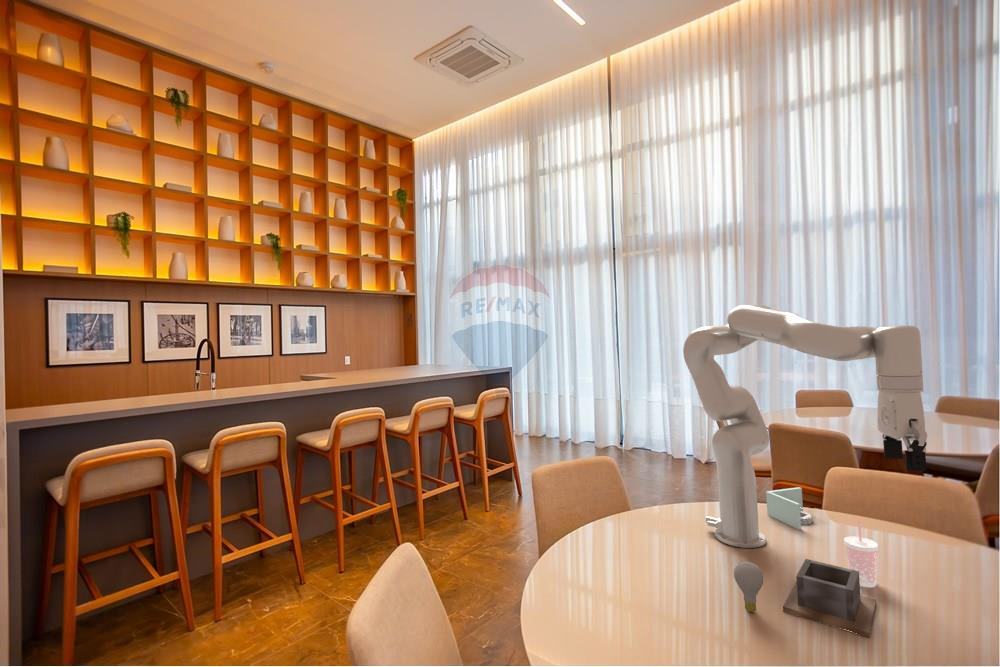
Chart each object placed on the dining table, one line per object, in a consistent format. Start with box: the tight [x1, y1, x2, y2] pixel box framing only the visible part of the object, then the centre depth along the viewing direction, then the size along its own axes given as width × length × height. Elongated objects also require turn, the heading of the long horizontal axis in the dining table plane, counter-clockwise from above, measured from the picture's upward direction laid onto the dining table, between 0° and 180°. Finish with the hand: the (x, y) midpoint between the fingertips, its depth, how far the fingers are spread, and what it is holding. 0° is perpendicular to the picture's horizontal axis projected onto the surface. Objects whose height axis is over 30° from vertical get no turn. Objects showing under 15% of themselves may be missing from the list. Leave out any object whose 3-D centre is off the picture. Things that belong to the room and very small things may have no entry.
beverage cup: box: [843, 518, 879, 588], centre depth 106 cm, size 6×6×14 cm
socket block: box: [782, 558, 877, 639], centre depth 97 cm, size 14×14×7 cm
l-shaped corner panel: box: [765, 486, 813, 530], centre depth 141 cm, size 12×12×8 cm
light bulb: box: [733, 561, 765, 613], centre depth 97 cm, size 6×5×10 cm
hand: (904, 464), depth 99 cm, fingers open, 9 cm apart
